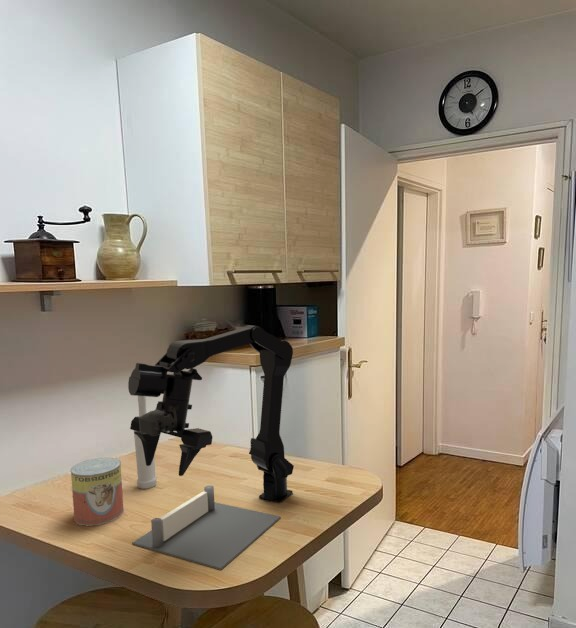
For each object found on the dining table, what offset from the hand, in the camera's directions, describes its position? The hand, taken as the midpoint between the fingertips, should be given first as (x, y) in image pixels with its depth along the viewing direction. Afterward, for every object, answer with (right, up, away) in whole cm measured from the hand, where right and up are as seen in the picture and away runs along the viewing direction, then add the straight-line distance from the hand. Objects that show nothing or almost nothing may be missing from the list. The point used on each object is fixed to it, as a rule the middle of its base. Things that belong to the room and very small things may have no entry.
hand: (164, 470), depth 110 cm
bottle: (-12, -13, +29) cm, 34 cm away
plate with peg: (+9, -14, +2) cm, 17 cm away
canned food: (-19, -15, +12) cm, 26 cm away
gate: (+5, -13, +4) cm, 14 cm away
